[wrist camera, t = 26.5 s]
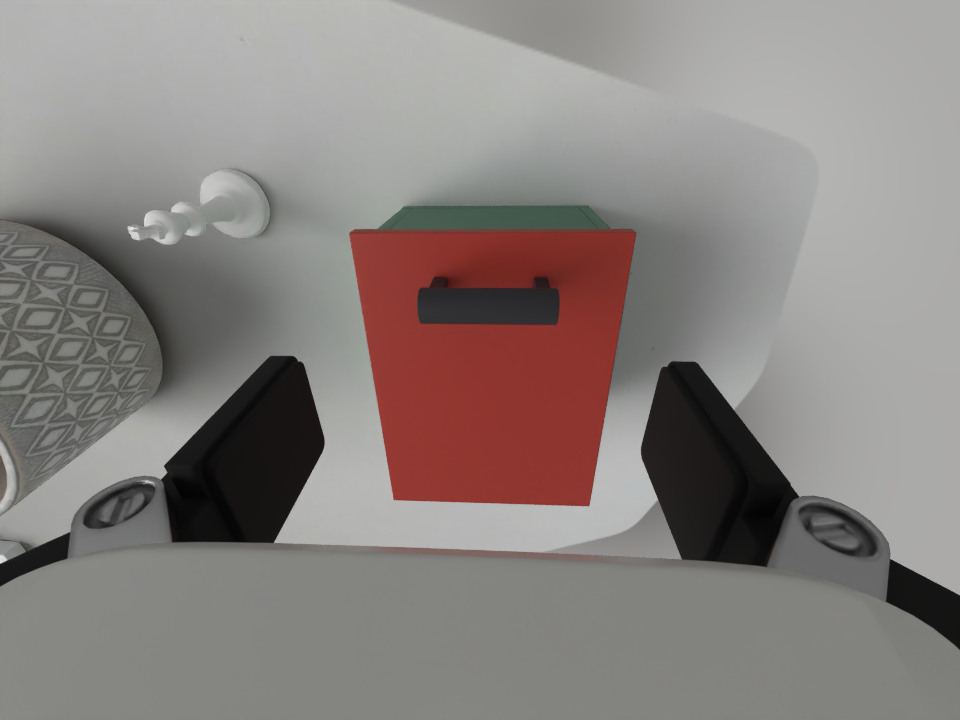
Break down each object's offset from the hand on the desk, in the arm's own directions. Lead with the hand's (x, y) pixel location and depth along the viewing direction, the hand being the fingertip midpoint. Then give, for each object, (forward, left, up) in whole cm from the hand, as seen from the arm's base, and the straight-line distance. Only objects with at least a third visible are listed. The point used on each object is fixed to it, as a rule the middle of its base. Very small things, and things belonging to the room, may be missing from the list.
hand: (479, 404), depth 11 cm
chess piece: (-1, -20, -23) cm, 30 cm away
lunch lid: (+7, 0, -12) cm, 14 cm away
